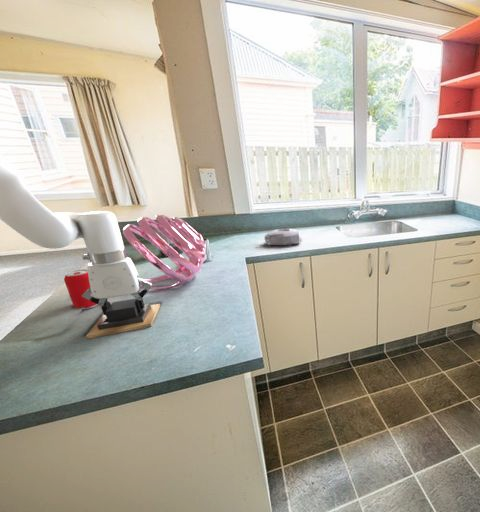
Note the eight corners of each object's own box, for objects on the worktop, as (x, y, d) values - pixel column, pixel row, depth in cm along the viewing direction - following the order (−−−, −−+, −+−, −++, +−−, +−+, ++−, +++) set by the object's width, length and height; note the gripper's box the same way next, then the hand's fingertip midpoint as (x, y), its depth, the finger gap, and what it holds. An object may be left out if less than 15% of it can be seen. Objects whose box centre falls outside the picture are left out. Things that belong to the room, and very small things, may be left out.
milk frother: (168, 258, 144) (162, 228, 140) (146, 254, 149) (139, 225, 144) (195, 250, 157) (189, 222, 153) (173, 247, 162) (167, 220, 157)
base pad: (87, 338, 79) (84, 330, 79) (105, 315, 91) (103, 308, 91) (151, 326, 86) (149, 319, 85) (160, 306, 97) (158, 299, 97)
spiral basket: (73, 249, 90) (154, 195, 98) (112, 247, 116) (173, 204, 123) (150, 311, 99) (218, 257, 107) (170, 297, 125) (224, 254, 132)
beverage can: (98, 300, 101) (87, 267, 97) (103, 305, 97) (92, 271, 94) (72, 307, 96) (60, 273, 92) (77, 313, 93) (64, 277, 89)
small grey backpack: (300, 238, 182) (265, 241, 176) (299, 225, 179) (264, 227, 173) (301, 245, 168) (263, 247, 162) (300, 231, 165) (261, 233, 160)
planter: (210, 261, 140) (206, 240, 136) (199, 262, 138) (195, 241, 135) (212, 258, 144) (209, 238, 141) (202, 259, 142) (198, 239, 139)
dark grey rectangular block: (108, 322, 84) (105, 311, 83) (115, 312, 89) (112, 302, 88) (137, 317, 87) (134, 306, 85) (142, 308, 92) (139, 298, 91)
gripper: (59, 265, 75) (81, 326, 81) (144, 256, 83) (159, 312, 88) (72, 256, 82) (92, 314, 87) (150, 249, 89) (163, 302, 95)
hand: (125, 313), depth 88 cm, fingers closed on dark grey rectangular block, 6 cm apart
